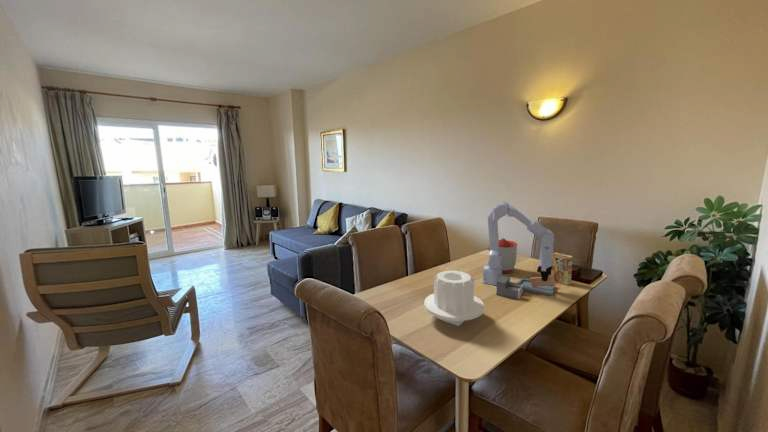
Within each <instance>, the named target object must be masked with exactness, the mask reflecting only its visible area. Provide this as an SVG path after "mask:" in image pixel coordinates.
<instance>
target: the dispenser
mask: <svg viewBox="0 0 768 432" xmlns="http://www.w3.org/2000/svg"><path fill="white" fill-rule="evenodd" d="M523 292H524V291H523V284H518V282H512V281H511V276H509V275H504V274H502V276H501V277H500V278H499V279H498V281H497V285H496V295H497V296H499V297H500V296H501V297H506V298H511V299H515V300H520V298H521V295H522V294H523Z"/></svg>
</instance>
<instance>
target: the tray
mask: <svg viewBox="0 0 768 432" xmlns="http://www.w3.org/2000/svg"><path fill="white" fill-rule="evenodd" d="M517 283H518V284H523V292H528V293H534V294H538V295H543V296H548V297H553V295H554V292H555V290H556V285H557V284H556V285H550V286H538V287H532V285H531V281H530V279H527V278H523V277H522V278H520V279H519V280H518V282H517Z"/></svg>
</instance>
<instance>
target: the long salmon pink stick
mask: <svg viewBox="0 0 768 432" xmlns="http://www.w3.org/2000/svg"><path fill="white" fill-rule="evenodd" d="M529 280H530V281H531V285H532V287H538V286H550V285H557V284H556V283H557V282H555V280H554V276H551V275H549V276H548V280H547V282H546V281H542V277H541V276H538V277H537V276H536V277H535V276H534V277H530V278H529Z"/></svg>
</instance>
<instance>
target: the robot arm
mask: <svg viewBox="0 0 768 432" xmlns="http://www.w3.org/2000/svg"><path fill="white" fill-rule="evenodd" d="M505 216H507V217H508V218H509V217H513V218H515V219H516V220H518V222H521V223H522V224H523V225H525V226H526V228H527V230H528V231H529V232H530V233H531V234H533V235H534V236H535V237H537V238H538V239H540V241H541V242H540V243H541V244H540V248H539V249H540V250H539V262H538V264H539V267H538V270H539V272H540V277H542V281H546V282H547V280H548V276H550V274H551V270H552V266H555V264H553V263H552V260H553V254H554V242H555V235H554V233H553V232H552V230H551V229H549V228H546V227H545V226H543V225H542V224H541V222H539V221H537V220H531V219H530V218H528V217H527V216H525V215H524V214H523V213H522V212H521V211H519V210H518V209H517V208H515V207H514V206H513V205H511V204H509V203H508V202H506V201H502V202H499V203H498V204H496V205H495V207H494V208H493V209H492V211H491V212H490V213H489V216H488V217H487V226H488V227H487V228H488V241H489V242H488V243H489V245H490V251H489V256H488V257H489V258H488V261H487V264H485V265H484V267H483V270H482V284H487V285H492V286H497V281H498V279H499V278H500V277H501V276H502V275H503V273H502V266H501V262H502V256H501V254H500V250H499V240H500V239H499V225H498V221H499V220H500V219H501V218H503V217H505ZM489 245H488V246H489Z"/></svg>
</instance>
